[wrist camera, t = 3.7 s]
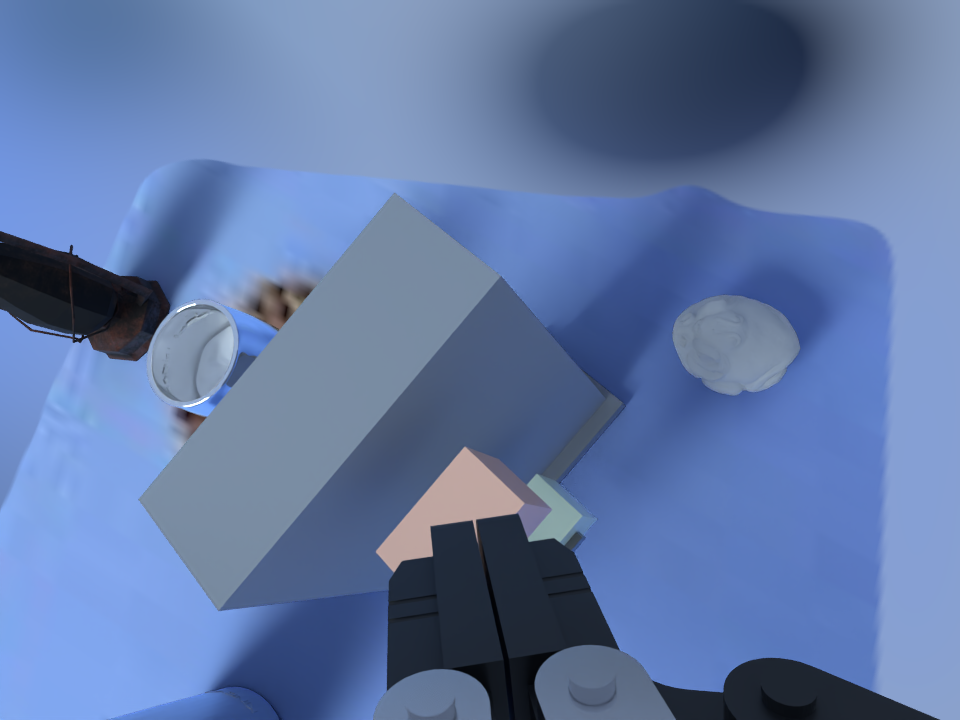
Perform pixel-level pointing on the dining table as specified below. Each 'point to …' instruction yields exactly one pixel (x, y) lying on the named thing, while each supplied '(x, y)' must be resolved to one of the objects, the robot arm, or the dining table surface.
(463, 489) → the pink rectangular block
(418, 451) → the large grey rectangular box
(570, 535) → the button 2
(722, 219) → the dining table surface
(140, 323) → the lantern
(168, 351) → the beer glass
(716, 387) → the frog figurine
